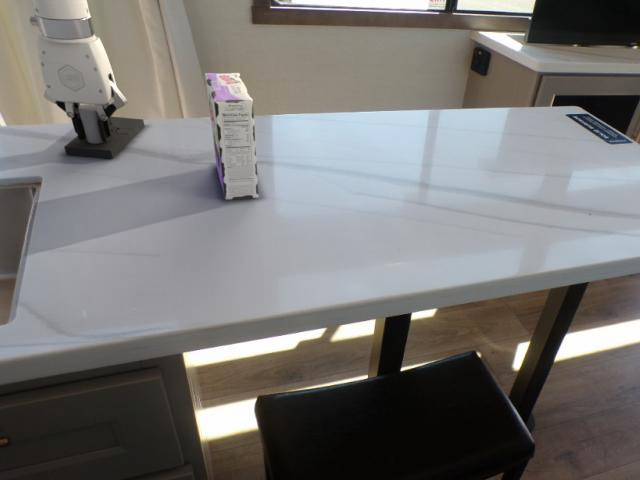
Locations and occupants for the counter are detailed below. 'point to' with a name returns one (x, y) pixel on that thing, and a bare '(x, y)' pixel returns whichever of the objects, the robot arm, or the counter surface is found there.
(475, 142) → the counter surface
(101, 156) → the pad
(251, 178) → the candy box
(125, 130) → the notch pad
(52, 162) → the counter surface
